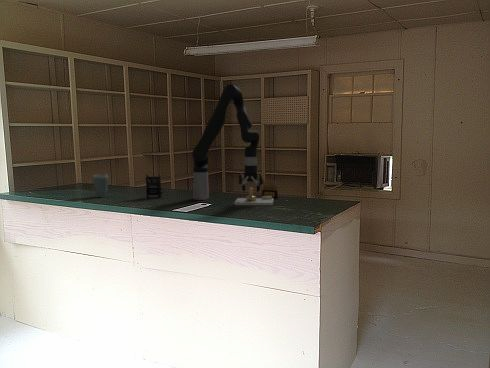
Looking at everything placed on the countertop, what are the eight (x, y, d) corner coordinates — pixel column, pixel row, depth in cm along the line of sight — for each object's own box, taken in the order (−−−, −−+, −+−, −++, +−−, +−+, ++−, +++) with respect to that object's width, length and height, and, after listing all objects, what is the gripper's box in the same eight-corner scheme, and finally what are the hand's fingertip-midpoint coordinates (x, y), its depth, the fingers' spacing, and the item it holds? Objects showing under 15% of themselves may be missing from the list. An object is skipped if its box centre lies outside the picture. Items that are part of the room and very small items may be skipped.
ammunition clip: (261, 197, 278) (261, 178, 277) (262, 197, 280) (262, 178, 278) (277, 198, 273) (277, 179, 272) (278, 198, 275) (278, 179, 273)
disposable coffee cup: (106, 198, 284) (105, 175, 282) (90, 198, 284) (88, 175, 282) (111, 195, 295) (110, 173, 293) (96, 195, 295) (94, 173, 293)
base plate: (234, 205, 253) (234, 199, 253) (237, 200, 268) (237, 195, 268) (272, 205, 251) (272, 199, 250) (273, 200, 265) (273, 195, 265)
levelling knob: (246, 198, 264) (246, 187, 263) (256, 198, 264) (256, 187, 263) (245, 201, 255) (245, 189, 255) (255, 201, 255) (255, 189, 254)
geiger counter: (163, 197, 286) (162, 174, 284) (161, 198, 281) (160, 175, 279) (148, 196, 287) (147, 174, 285) (145, 198, 282) (144, 175, 280)
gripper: (264, 164, 259) (264, 191, 261) (241, 163, 263) (241, 190, 265) (260, 165, 252) (260, 193, 254) (237, 164, 256) (237, 192, 258)
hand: (250, 191), depth 260 cm, fingers open, 8 cm apart
